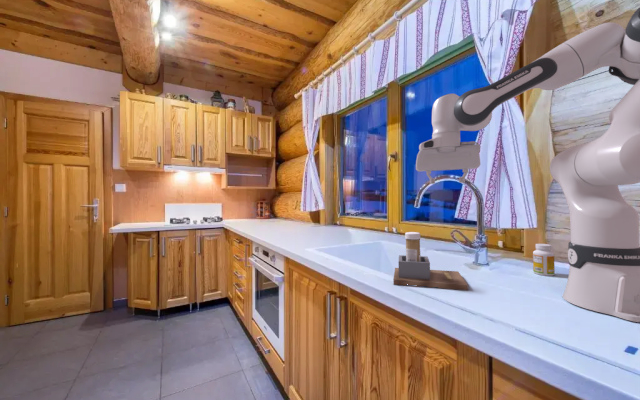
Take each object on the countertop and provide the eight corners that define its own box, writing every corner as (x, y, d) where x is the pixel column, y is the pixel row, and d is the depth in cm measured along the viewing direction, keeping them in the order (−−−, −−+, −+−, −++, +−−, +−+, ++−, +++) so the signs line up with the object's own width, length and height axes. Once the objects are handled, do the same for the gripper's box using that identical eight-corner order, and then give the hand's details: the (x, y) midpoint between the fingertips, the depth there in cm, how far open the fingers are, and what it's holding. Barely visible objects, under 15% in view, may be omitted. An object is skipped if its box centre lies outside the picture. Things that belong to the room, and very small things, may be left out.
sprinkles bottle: (424, 275, 84) (423, 232, 84) (414, 277, 82) (414, 233, 82) (412, 271, 88) (411, 231, 88) (402, 274, 86) (402, 232, 86)
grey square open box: (427, 271, 88) (427, 256, 88) (430, 279, 80) (429, 263, 80) (399, 269, 91) (399, 255, 91) (398, 277, 82) (398, 261, 82)
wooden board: (458, 275, 88) (458, 270, 88) (467, 290, 74) (467, 283, 74) (395, 271, 94) (395, 266, 94) (393, 284, 80) (393, 278, 80)
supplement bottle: (552, 273, 89) (552, 243, 89) (556, 277, 84) (555, 246, 84) (532, 270, 92) (531, 242, 92) (534, 274, 87) (534, 245, 87)
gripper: (477, 142, 92) (478, 182, 92) (414, 147, 99) (415, 184, 99) (482, 138, 86) (483, 181, 86) (415, 144, 93) (416, 183, 93)
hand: (447, 183), depth 93 cm, fingers open, 8 cm apart
